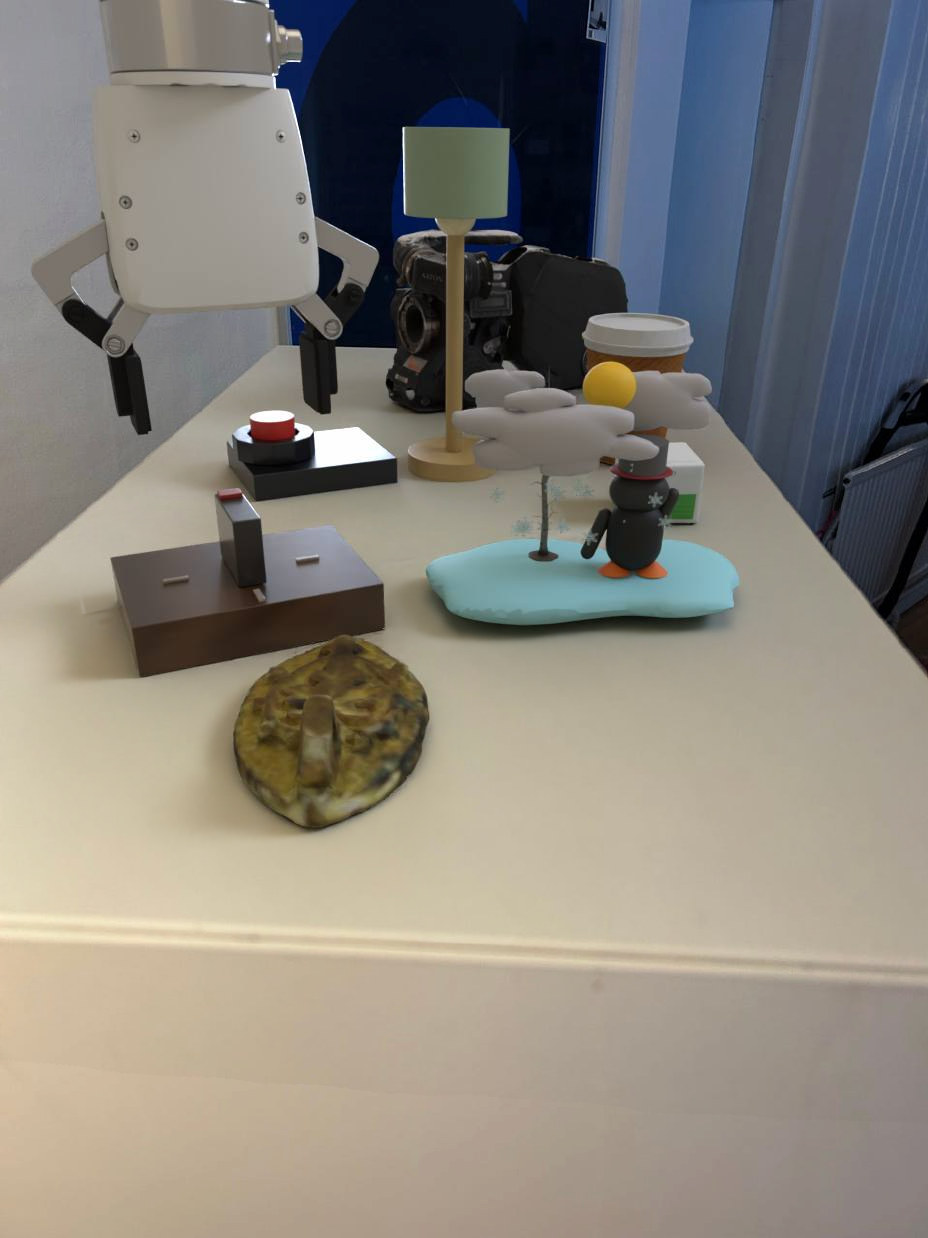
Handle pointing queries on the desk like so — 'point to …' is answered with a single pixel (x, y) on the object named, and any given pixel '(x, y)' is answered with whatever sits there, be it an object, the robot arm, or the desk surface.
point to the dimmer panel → (244, 600)
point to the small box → (684, 482)
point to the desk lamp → (453, 257)
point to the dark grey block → (240, 537)
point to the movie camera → (495, 313)
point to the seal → (330, 731)
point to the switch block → (309, 462)
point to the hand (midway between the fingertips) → (232, 418)
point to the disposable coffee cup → (638, 347)
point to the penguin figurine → (572, 445)
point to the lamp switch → (272, 425)
